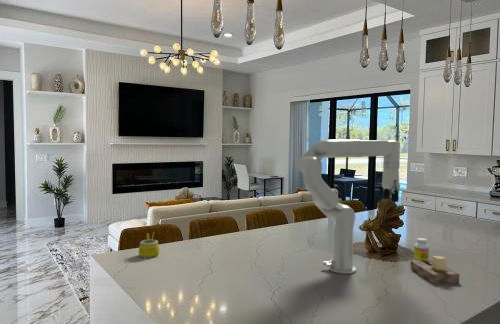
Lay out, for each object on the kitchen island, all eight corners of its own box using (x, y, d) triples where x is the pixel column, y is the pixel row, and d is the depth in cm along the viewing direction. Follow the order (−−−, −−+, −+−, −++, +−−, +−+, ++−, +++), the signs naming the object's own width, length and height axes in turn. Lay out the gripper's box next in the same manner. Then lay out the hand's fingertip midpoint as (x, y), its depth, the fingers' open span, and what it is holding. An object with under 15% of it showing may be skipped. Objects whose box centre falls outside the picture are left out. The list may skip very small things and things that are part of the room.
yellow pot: (154, 259, 200) (154, 236, 200) (135, 258, 202) (134, 235, 202) (164, 252, 213) (164, 231, 212) (146, 251, 215) (146, 230, 214)
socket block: (432, 283, 167) (432, 274, 166) (410, 268, 187) (410, 260, 186) (458, 283, 167) (459, 274, 167) (434, 268, 187) (434, 260, 187)
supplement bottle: (420, 266, 190) (420, 241, 189) (411, 262, 196) (411, 237, 196) (431, 265, 192) (432, 240, 191) (422, 261, 198) (422, 237, 198)
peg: (436, 280, 170) (437, 258, 170) (432, 277, 174) (432, 255, 174) (445, 280, 170) (446, 258, 170) (440, 277, 174) (441, 255, 174)
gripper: (377, 164, 196) (376, 197, 197) (391, 166, 179) (390, 202, 180) (391, 164, 197) (390, 197, 197) (406, 166, 179) (406, 202, 180)
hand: (390, 200), depth 188 cm, fingers open, 9 cm apart
